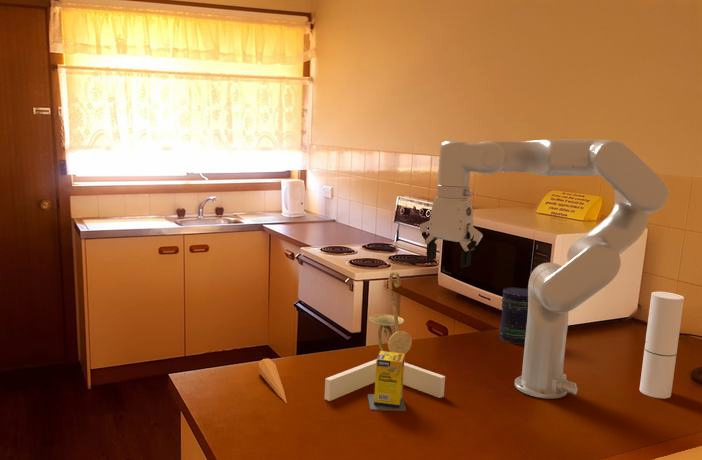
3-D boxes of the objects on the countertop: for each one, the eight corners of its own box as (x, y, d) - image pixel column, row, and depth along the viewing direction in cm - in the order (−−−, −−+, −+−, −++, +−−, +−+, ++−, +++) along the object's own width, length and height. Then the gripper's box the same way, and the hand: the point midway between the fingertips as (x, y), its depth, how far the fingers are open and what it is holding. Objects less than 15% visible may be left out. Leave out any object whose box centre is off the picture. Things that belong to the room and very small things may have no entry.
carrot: (259, 375, 162) (253, 360, 160) (276, 367, 163) (270, 352, 161) (281, 416, 144) (274, 401, 142) (299, 407, 145) (293, 391, 143)
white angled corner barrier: (443, 396, 152) (445, 376, 151) (385, 425, 136) (387, 403, 135) (384, 374, 164) (385, 355, 163) (324, 399, 147) (325, 378, 147)
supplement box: (399, 408, 144) (402, 362, 142) (373, 405, 145) (376, 359, 143) (402, 397, 149) (405, 353, 148) (377, 394, 150) (379, 350, 149)
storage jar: (497, 332, 203) (501, 286, 200) (529, 335, 201) (533, 288, 199) (500, 342, 193) (504, 294, 191) (533, 345, 192) (538, 297, 189)
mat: (401, 396, 151) (401, 394, 151) (406, 411, 143) (406, 409, 143) (367, 395, 151) (367, 394, 151) (370, 410, 143) (370, 409, 143)
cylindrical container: (668, 389, 163) (681, 293, 159) (672, 400, 156) (686, 300, 152) (638, 384, 165) (650, 290, 161) (640, 395, 158) (653, 296, 154)
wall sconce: (415, 367, 170) (420, 275, 166) (382, 370, 166) (387, 276, 162) (393, 349, 182) (398, 263, 178) (362, 352, 179) (366, 264, 175)
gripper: (492, 196, 151) (486, 267, 153) (431, 188, 162) (427, 255, 165) (476, 197, 145) (470, 271, 148) (414, 190, 156) (409, 259, 159)
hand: (447, 263), depth 156 cm, fingers open, 9 cm apart
